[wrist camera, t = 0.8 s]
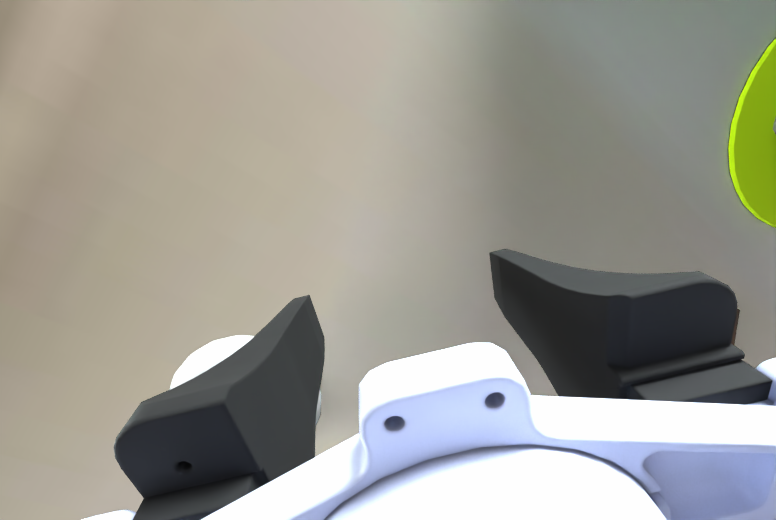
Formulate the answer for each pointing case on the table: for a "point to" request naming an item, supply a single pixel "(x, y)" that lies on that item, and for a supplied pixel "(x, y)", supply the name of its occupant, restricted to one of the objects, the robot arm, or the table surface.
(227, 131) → the table surface
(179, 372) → the donut
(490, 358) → the robot arm
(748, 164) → the toy cauldron
